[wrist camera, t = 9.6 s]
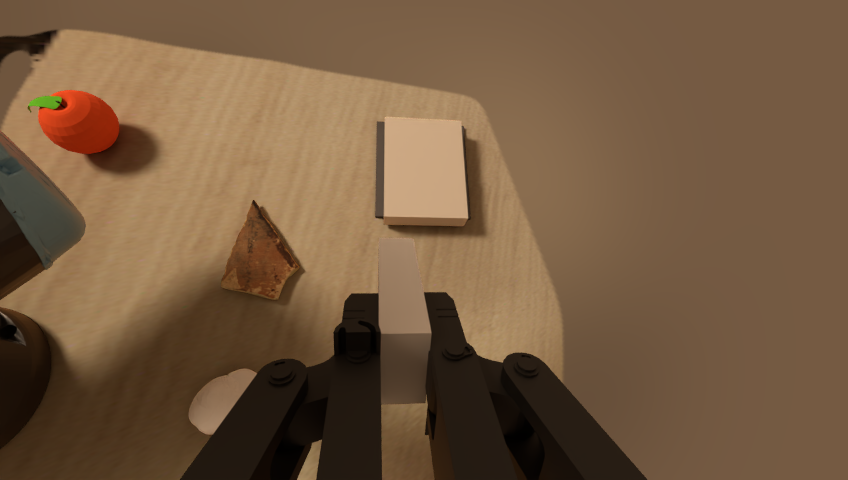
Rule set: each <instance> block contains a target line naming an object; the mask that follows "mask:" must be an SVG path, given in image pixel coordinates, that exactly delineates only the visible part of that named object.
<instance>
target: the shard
mask: <svg viewBox="0 0 848 480" xmlns="http://www.w3.org/2000/svg"><path fill="white" fill-rule="evenodd" d="M298 269H299V265H298V264H297V263H296V262H295V260H294V259H293V258H292V256H291V254H290V253H289V251H288V250H287V248H286V247H285V246H284V244H283V243H282V241H281V240H280V238H279V236H278V235H277V232H276V231H275V230H274V228H273V227H272V225H271V224H270V222H269V221H268V220H267V219H266V218H265V217H264V215H263V214H262V213H261V211H260V209H259V206H258V205H257V203H256V202H255V201H254V200H253V201H252V204H251V207H250V209H249V212H248V214H247V218H246V221H245V223H244V225H243V228H242V230H241V232H240V233H239V235H238V237H237V240H236V243H235V245H234V247H233V248H232V251H231V255H230V258H229V259H228V262H227V265H226V268H225V274H224V276H223V278H222V281H221V286H222V288H224V289H228V290H234V291H239V292H244V293H249V294H253V295H257V296H260V297H264V298H268V299H270V300H278V298H279V296H280V293H281V290H282V288H283V286H284V283H285V281H286V279H288V278H289V277H290V276H291V275H293V274H294V273H295V272H296V271H297V270H298Z"/></svg>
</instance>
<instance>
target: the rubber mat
mask: <svg viewBox="0 0 848 480" xmlns="http://www.w3.org/2000/svg"><path fill="white" fill-rule="evenodd" d="M384 126H385V122H377V152H376V212H375V217H380V218H384ZM461 127H462V140H463V154H464V168H465V182H466V195H467V209H468V219H470V218H471V217H470V204H469V191H468V178H467V164H466V151H465V138H464V126H461Z"/></svg>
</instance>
